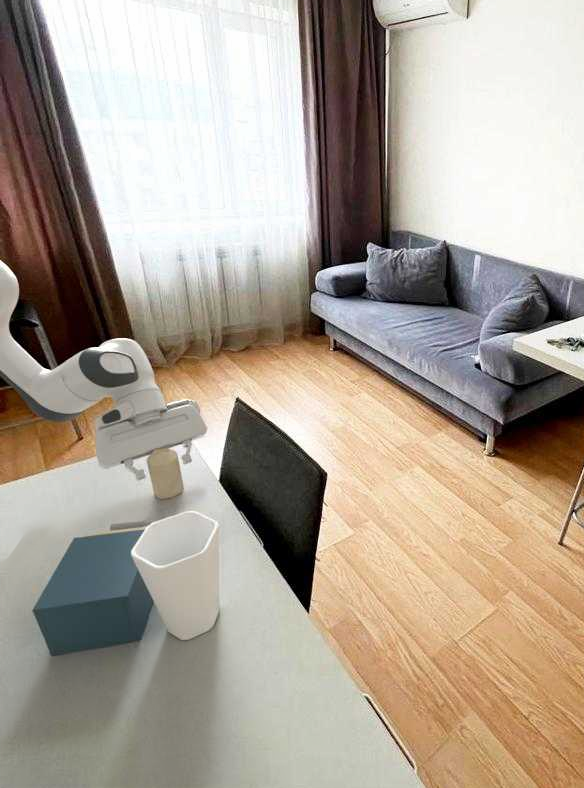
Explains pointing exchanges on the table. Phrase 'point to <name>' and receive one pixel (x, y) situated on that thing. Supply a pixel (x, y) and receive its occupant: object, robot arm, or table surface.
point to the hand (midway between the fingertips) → (165, 471)
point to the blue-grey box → (94, 596)
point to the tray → (123, 527)
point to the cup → (182, 571)
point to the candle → (165, 473)
